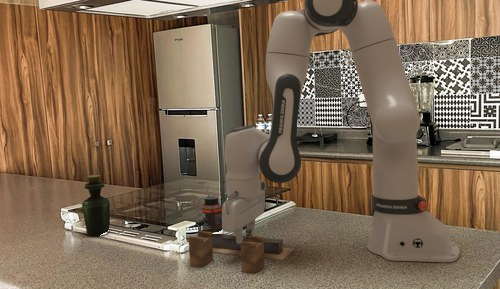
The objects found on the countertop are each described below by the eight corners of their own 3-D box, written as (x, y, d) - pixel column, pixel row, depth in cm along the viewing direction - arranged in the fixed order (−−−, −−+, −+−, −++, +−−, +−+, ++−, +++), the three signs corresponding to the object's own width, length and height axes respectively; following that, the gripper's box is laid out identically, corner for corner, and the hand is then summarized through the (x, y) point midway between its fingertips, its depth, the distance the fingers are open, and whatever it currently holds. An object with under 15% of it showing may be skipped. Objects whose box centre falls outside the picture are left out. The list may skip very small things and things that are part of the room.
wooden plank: (293, 250, 134) (293, 248, 134) (283, 260, 126) (283, 258, 126) (212, 242, 143) (212, 240, 143) (198, 251, 136) (198, 249, 136)
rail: (283, 250, 132) (282, 239, 132) (279, 254, 129) (278, 243, 129) (214, 244, 140) (214, 233, 140) (209, 247, 137) (208, 236, 137)
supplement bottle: (226, 232, 152) (224, 195, 151) (218, 238, 146) (216, 200, 145) (208, 231, 154) (206, 194, 153) (199, 237, 148) (197, 199, 147)
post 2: (264, 265, 123) (263, 236, 122) (255, 273, 118) (254, 243, 118) (250, 264, 125) (249, 235, 124) (241, 271, 120) (240, 242, 119)
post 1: (213, 259, 129) (211, 232, 128) (202, 267, 124) (201, 238, 123) (200, 258, 130) (199, 231, 129) (190, 265, 125) (188, 237, 124)
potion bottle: (84, 239, 151) (79, 179, 148) (84, 231, 158) (79, 175, 156) (112, 235, 153) (108, 176, 151) (111, 228, 161) (107, 172, 159)
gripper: (237, 197, 122) (240, 253, 124) (268, 181, 141) (269, 229, 142) (214, 196, 125) (217, 250, 126) (247, 180, 143) (249, 227, 145)
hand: (245, 239), depth 134 cm, fingers open, 5 cm apart
